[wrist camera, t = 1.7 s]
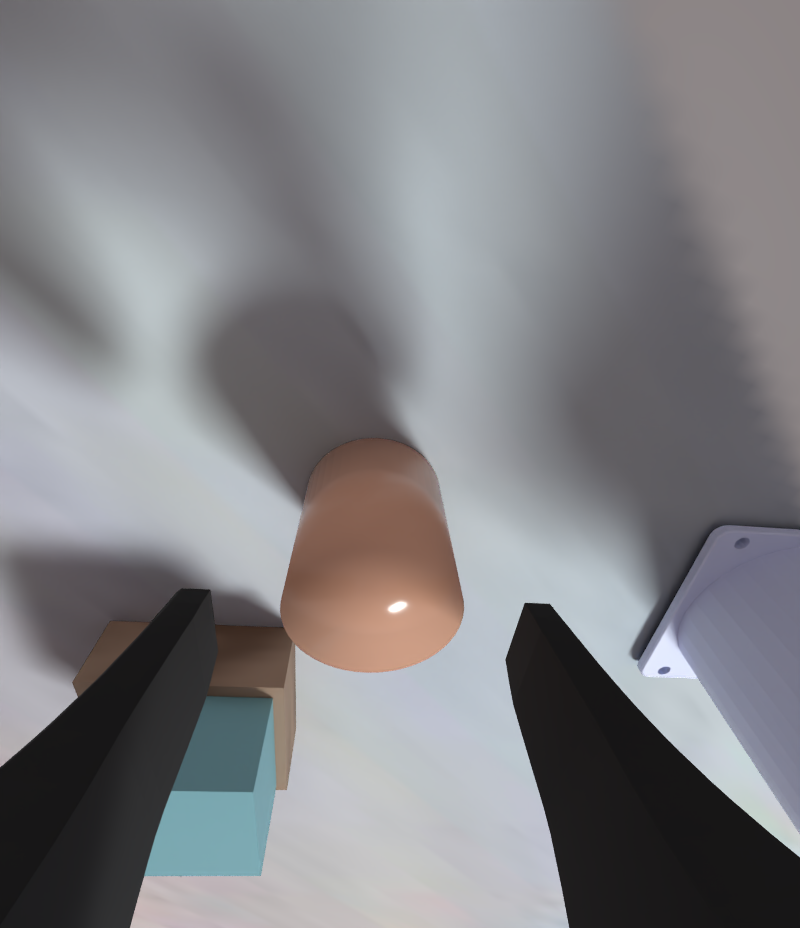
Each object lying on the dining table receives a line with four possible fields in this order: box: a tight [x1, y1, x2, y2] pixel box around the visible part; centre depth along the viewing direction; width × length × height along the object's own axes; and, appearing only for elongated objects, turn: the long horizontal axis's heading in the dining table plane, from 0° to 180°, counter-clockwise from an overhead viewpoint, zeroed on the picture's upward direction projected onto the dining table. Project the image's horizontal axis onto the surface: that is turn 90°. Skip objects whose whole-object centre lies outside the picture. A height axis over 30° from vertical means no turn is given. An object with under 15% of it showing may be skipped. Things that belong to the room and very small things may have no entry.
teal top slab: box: [144, 696, 276, 876], centre depth 17 cm, size 6×6×3 cm
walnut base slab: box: [72, 621, 296, 790], centre depth 19 cm, size 7×7×3 cm
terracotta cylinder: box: [280, 438, 464, 672], centre depth 13 cm, size 4×4×5 cm
